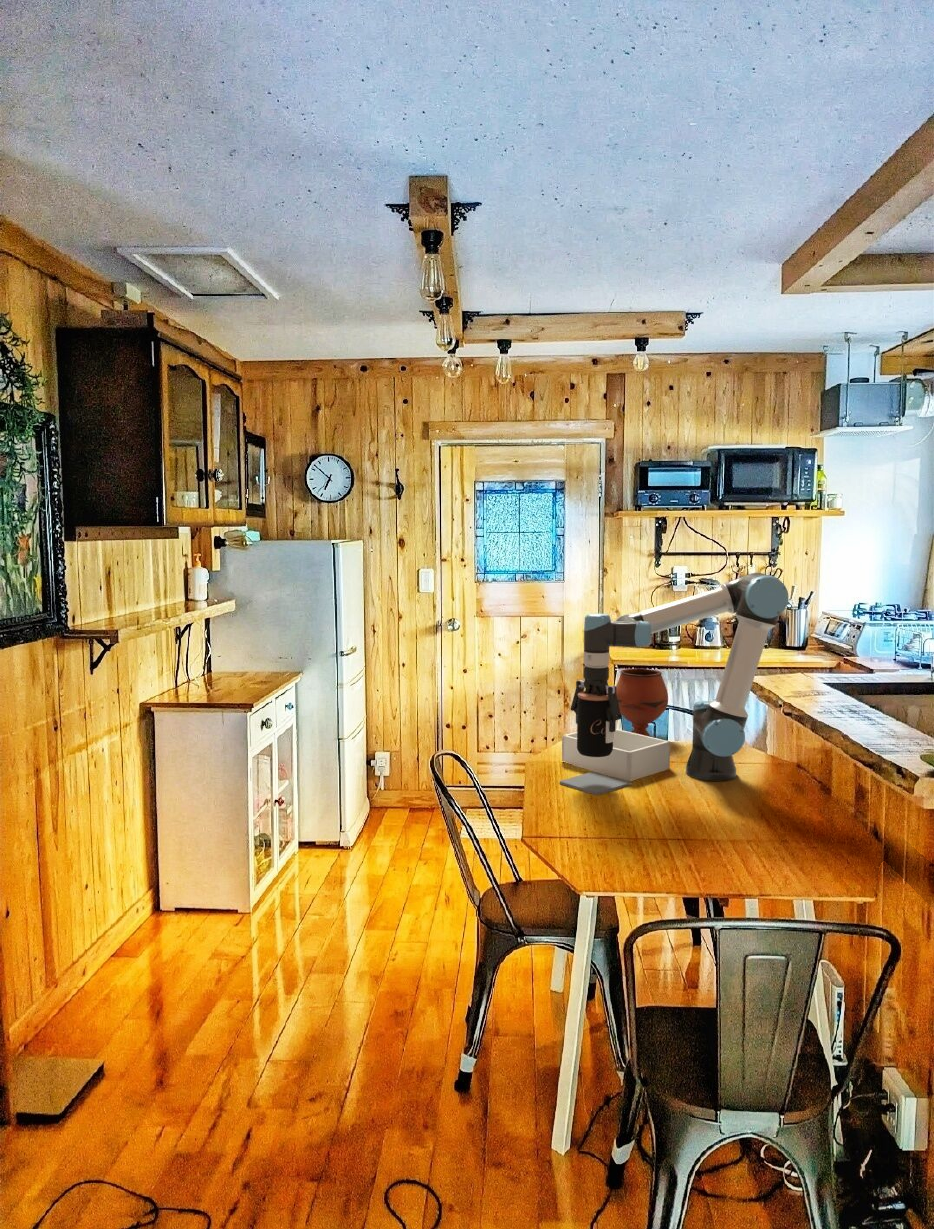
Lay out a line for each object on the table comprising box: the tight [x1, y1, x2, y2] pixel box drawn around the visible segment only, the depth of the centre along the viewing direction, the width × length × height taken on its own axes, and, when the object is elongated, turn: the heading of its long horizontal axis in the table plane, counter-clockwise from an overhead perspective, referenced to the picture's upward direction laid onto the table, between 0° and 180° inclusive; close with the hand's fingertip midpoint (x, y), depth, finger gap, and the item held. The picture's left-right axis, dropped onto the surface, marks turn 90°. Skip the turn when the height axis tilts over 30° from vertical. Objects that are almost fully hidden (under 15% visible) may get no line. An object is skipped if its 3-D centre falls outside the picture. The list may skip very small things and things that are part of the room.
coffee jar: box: [576, 690, 613, 757], centre depth 262 cm, size 11×11×18 cm
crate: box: [561, 728, 671, 782], centre depth 284 cm, size 28×20×9 cm
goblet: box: [615, 668, 669, 737], centre depth 316 cm, size 19×19×25 cm
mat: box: [559, 771, 632, 796], centre depth 264 cm, size 15×15×1 cm
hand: (595, 738), depth 263 cm, fingers closed on coffee jar, 11 cm apart
